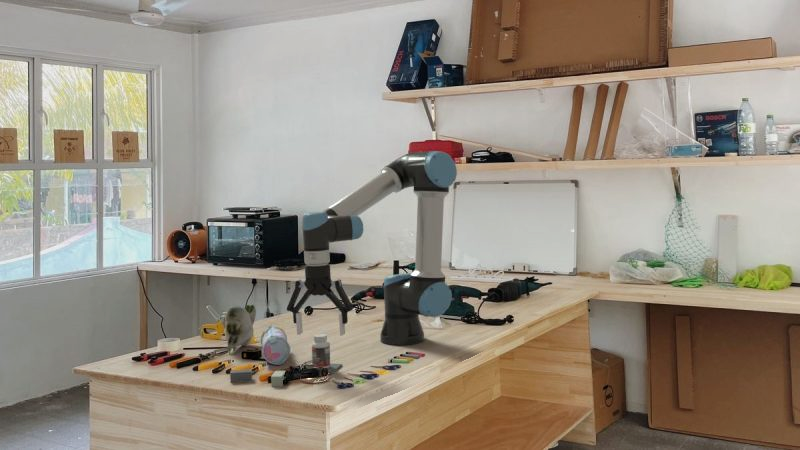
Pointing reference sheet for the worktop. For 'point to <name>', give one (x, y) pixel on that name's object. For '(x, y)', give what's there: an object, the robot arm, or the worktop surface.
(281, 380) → the sage brick
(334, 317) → the worktop surface
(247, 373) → the charcoal brick
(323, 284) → the robot arm
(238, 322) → the toy
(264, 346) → the pencil case
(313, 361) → the pill bottle
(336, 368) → the slate mat
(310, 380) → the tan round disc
